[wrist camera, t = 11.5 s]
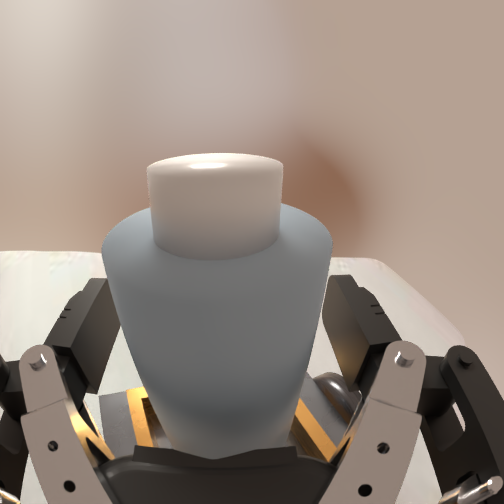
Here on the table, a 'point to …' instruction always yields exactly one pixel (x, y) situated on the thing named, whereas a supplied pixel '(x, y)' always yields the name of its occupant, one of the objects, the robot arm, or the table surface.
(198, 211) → the light blue bottle
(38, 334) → the table surface
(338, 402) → the gold-trimmed base block
